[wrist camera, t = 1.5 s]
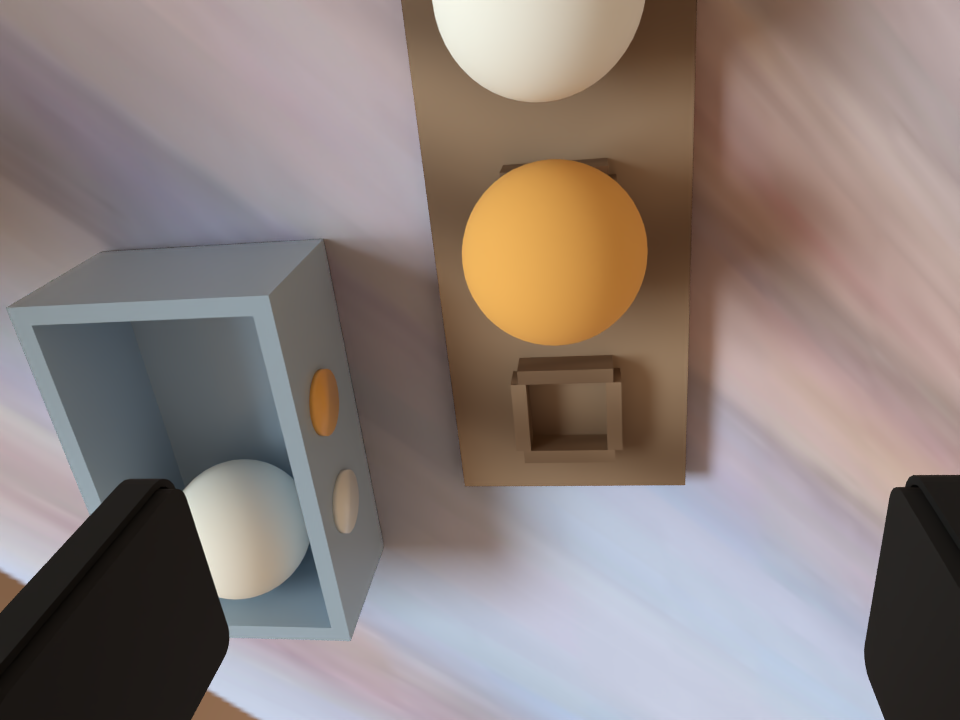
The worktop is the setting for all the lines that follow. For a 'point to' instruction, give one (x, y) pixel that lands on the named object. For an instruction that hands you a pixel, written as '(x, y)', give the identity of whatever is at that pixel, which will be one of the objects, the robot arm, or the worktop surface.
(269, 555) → the cream ball in tray
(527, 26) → the cream ball on rack
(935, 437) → the worktop surface
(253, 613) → the pale blue tray
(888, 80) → the worktop surface
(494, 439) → the walnut rack
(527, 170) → the orange ball
